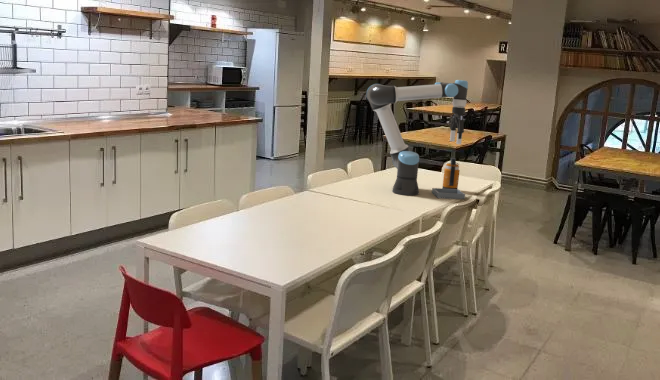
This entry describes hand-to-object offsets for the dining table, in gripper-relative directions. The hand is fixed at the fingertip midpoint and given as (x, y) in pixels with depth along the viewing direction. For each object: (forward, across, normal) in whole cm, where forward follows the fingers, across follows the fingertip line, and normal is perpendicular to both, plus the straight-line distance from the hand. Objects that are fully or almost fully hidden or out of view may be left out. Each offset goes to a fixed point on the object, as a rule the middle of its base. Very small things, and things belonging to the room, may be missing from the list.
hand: (455, 142), depth 367 cm
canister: (+29, 0, 0) cm, 29 cm away
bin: (+29, -17, +6) cm, 34 cm away
